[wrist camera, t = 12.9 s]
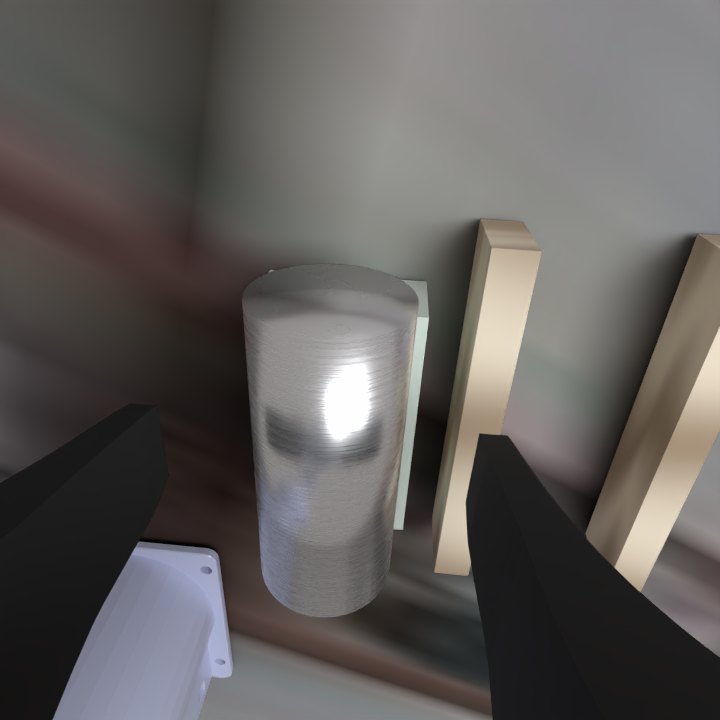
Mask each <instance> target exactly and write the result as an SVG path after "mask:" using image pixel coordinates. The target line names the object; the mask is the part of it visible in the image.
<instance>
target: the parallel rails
mask: <svg viewBox="0 0 720 720" xmlns="http://www.w3.org/2000/svg"><path fill="white" fill-rule="evenodd" d="M541 253H542V251H541V249H540V248H539V246H538V245H537V243H536V241H535V240H534V238H533V237H532V235H531V233H530V232H529V230H528V229H527V227H526V226H525V224H524V222H517V221H503V220H488V219H480V224H479V231H478V237H477V243H476V249H475V255H474V261H473V268H472V274H471V280H470V286H469V292H468V299H467V305H466V311H465V317H464V323H463V330H462V336H461V342H460V348H459V354H458V361H457V367H456V373H455V379H454V385H453V391H452V398H451V404H450V410H449V416H448V422H447V429H446V435H445V441H444V447H443V453H442V460H441V466H440V472H439V478H438V484H437V491H436V497H435V503H434V509H433V515H432V533H433V556H434V572H436V573H446V574H456V575H466V576H468V574H469V569H470V565H471V560H470V554H469V548H468V538H467V522H466V497H467V492H468V487H469V482H470V477H471V472H472V467H473V462H474V457H475V452H476V447H477V442H478V437H479V433H482V434H493V435H500V433H501V429H502V424H503V420H504V415H505V411H506V407H507V402H508V398H509V393H510V389H511V385H512V380H513V376H514V371H515V367H516V363H517V358H518V354H519V349H520V345H521V341H522V336H523V332H524V327H525V323H526V319H527V314H528V310H529V305H530V301H531V297H532V292H533V288H534V283H535V279H536V275H537V270H538V266H539V261H540V257H541ZM719 431H720V235H708V234H698V235H697V238H696V240H695V243H694V246H693V248H692V251H691V254H690V256H689V259H688V262H687V264H686V267H685V270H684V272H683V275H682V278H681V280H680V283H679V286H678V288H677V291H676V294H675V296H674V299H673V302H672V304H671V307H670V309H669V312H668V315H667V317H666V320H665V323H664V325H663V328H662V331H661V333H660V336H659V339H658V341H657V344H656V347H655V349H654V352H653V355H652V357H651V360H650V363H649V365H648V368H647V371H646V373H645V376H644V379H643V381H642V384H641V387H640V389H639V392H638V395H637V397H636V400H635V403H634V405H633V408H632V411H631V413H630V416H629V419H628V421H627V424H626V427H625V429H624V432H623V435H622V437H621V440H620V443H619V445H618V448H617V451H616V453H615V456H614V459H613V461H612V464H611V467H610V469H609V472H608V475H607V477H606V480H605V483H604V485H603V488H602V491H601V493H600V496H599V499H598V501H597V504H596V507H595V509H594V512H593V515H592V517H591V520H590V523H589V525H588V528H587V531H586V533H585V534H586V537H587V540H588V541H589V542H590V543H591V544H592V545H593V546H594V547H595V548H596V549H597V550H598V552H599V553H600V554H601V555H602V556H603V557H604V558H605V559H606V560H607V561H608V562H609V563H610V564H611V565H612V566H613V567H614V568H615V569H616V570H617V571H618V572H619V573H620V574H621V575H623V576H624V577H625V578H626V579H627V580H628V581H629V582H630V583H631V584H632V585H633V586H634V587H635V588H636V589H637V590H638V591H639V592H641V590H642V588H643V586H644V584H645V581H646V579H647V577H648V575H649V573H650V571H651V569H652V567H653V565H654V563H655V561H656V559H657V557H658V555H659V553H660V551H661V549H662V547H663V545H664V543H665V541H666V539H667V537H668V535H669V533H670V530H671V528H672V526H673V524H674V522H675V520H676V518H677V516H678V514H679V512H680V510H681V508H682V506H683V504H684V502H685V500H686V498H687V496H688V494H689V492H690V490H691V488H692V486H693V484H694V482H695V480H696V477H697V475H698V473H699V471H700V469H701V467H702V465H703V463H704V461H705V459H706V457H707V455H708V453H709V451H710V449H711V447H712V445H713V443H714V441H715V439H716V437H717V435H718V433H719Z"/></svg>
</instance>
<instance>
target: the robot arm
mask: <svg viewBox="0 0 720 720" xmlns="http://www.w3.org/2000/svg"><path fill="white" fill-rule="evenodd" d="M168 476H169V473H168V468H167V462H166V456H165V451H164V445H163V440H162V434H161V428H160V423H159V417H158V412H157V406H152V405H141V404H129V405H127V406H125V407H123V408H121V409H120V410H118V411H117V412H115V413H113V414H112V415H110V416H109V417H107V418H105V419H104V420H102V421H101V422H99V423H98V424H96V425H95V426H93V427H91V428H90V429H88V430H87V431H85V432H84V433H82V434H81V435H79V436H77V437H76V438H74V439H73V440H71V441H70V442H68V443H66V444H65V445H63V446H62V447H60V448H59V449H57V450H55V451H54V452H52V453H51V454H49V455H47V456H46V457H44V458H42V459H41V460H39V461H37V462H36V463H34V464H32V465H30V466H29V467H27V468H25V469H24V470H22V471H20V472H19V473H17V474H15V475H13V476H12V477H10V478H8V479H7V480H5V481H3V482H1V483H0V720H198V718H199V715H200V712H201V709H202V705H203V702H204V699H205V696H206V693H207V690H208V686H209V683H210V680H211V677H219V678H227V677H230V676H231V674H232V671H233V661H232V653H231V645H230V638H229V630H228V623H227V615H226V608H225V600H224V592H223V585H222V577H221V570H220V562H219V556H218V554H217V553H216V552H215V551H214V550H212V549H208V548H200V547H190V546H180V545H170V544H160V543H150V542H140V541H139V540H140V538H141V536H142V534H143V533H144V531H145V529H146V527H147V525H148V524H149V522H150V520H151V518H152V516H153V514H154V512H155V509H156V507H157V504H158V502H159V499H160V497H161V494H162V492H163V489H164V486H165V484H166V481H167V478H168ZM466 522H467V538H468V548H469V554H470V560H471V566H472V571H473V577H474V583H475V588H476V594H477V600H478V605H479V611H480V616H481V622H482V627H483V633H484V639H485V644H486V652H487V659H488V667H489V679H490V691H491V703H492V715H493V720H720V657H718V656H717V655H716V654H714V653H713V652H712V651H710V650H709V649H708V648H706V647H705V646H704V645H702V644H701V643H700V642H699V641H697V640H696V639H695V638H694V637H692V636H691V635H690V634H689V633H687V632H686V631H685V630H684V629H682V628H681V627H680V626H679V625H677V624H676V623H675V622H674V621H673V620H672V619H670V618H669V617H668V616H667V615H666V614H665V613H663V612H662V611H661V610H660V609H659V608H658V607H656V606H655V605H654V604H653V603H652V602H651V601H649V600H648V599H647V598H646V597H645V596H644V595H643V594H642V593H641V592H639V591H638V590H637V589H636V588H635V587H634V586H633V585H632V584H631V583H630V582H629V581H628V580H627V579H626V578H625V577H624V576H623V575H621V574H620V573H619V572H618V571H617V570H616V569H615V568H614V567H613V566H612V565H611V564H610V563H609V562H608V561H607V560H606V559H605V558H604V557H603V556H602V555H601V554H600V553H599V552H598V550H597V549H596V548H595V547H594V546H593V545H592V544H591V543H590V542H589V541H588V540H587V538H586V537H585V536H584V535H583V534H582V533H581V532H580V530H579V529H578V528H577V527H576V526H575V525H574V523H573V522H572V521H571V520H570V519H569V517H568V516H567V515H566V514H565V513H564V511H563V510H562V509H561V508H560V506H559V505H558V504H557V502H556V501H555V500H554V499H553V497H552V496H551V495H550V494H549V492H548V491H547V490H546V488H545V487H544V486H543V484H542V483H541V482H540V480H539V479H538V478H537V476H536V475H535V473H534V472H533V471H532V469H531V468H530V466H529V465H528V464H527V462H526V461H525V459H524V458H523V456H522V455H521V454H520V452H519V451H518V449H517V448H516V446H515V445H514V443H513V442H512V441H511V439H510V438H509V437H508V436H505V435H493V434H482V433H479V437H478V442H477V447H476V452H475V457H474V462H473V467H472V472H471V477H470V482H469V487H468V492H467V497H466Z"/></svg>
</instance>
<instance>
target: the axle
mask: <svg viewBox="0 0 720 720" xmlns="http://www.w3.org/2000/svg"><path fill="white" fill-rule="evenodd" d="M242 307H243V320H244V334H245V348H246V362H247V375H248V389H249V403H250V416H251V430H252V444H253V458H254V471H255V485H256V499H257V513H258V526H259V540H260V554H261V568H262V575H263V578H264V581H265V584H266V585H267V587H268V589H269V591H270V592H271V593H272V595H273V596H274V597H275V598H276V599H277V600H278V601H279V602H280V603H282V604H283V605H284V606H286V607H287V608H289V609H291V610H293V611H295V612H298V613H300V614H304V615H307V616H313V617H337V616H341V615H346V614H349V613H351V612H354V611H356V610H358V609H360V608H362V607H363V606H365V605H366V604H368V603H369V602H370V601H371V600H373V599H374V598H375V597H376V596H377V594H378V593H379V592H380V591H381V589H382V587H383V586H384V584H385V582H386V579H387V577H388V573H389V566H390V557H391V548H392V540H393V531H394V522H395V513H396V504H397V495H398V486H399V477H400V468H401V459H402V450H403V441H404V432H405V423H406V414H407V405H408V396H409V387H410V378H411V369H412V360H413V351H414V342H415V333H416V325H417V316H418V307H419V299H418V296H417V294H416V292H415V291H414V290H413V289H412V288H411V287H410V286H409V285H408V284H407V283H405V282H404V281H402V280H400V279H398V278H396V277H394V276H392V275H389V274H387V273H384V272H381V271H378V270H374V269H370V268H365V267H360V266H353V265H343V264H308V265H298V266H292V267H287V268H283V269H279V270H275V271H272V272H269V273H267V274H264V275H262V276H260V277H258V278H257V279H255V280H254V281H252V282H251V283H250V284H249V285H248V286H247V287H246V288H245V290H244V292H243V294H242Z"/></svg>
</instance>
